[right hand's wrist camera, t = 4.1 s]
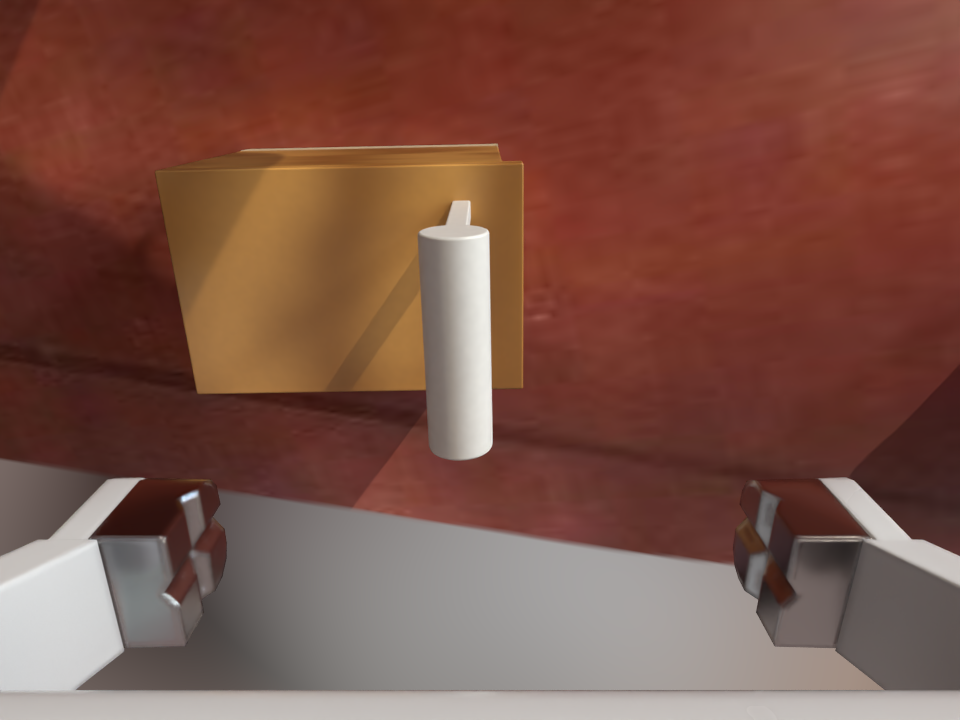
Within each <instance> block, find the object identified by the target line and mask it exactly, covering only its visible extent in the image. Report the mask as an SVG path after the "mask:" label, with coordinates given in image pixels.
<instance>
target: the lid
mask: <svg viewBox="0 0 960 720" xmlns="http://www.w3.org/2000/svg"><path fill="white" fill-rule="evenodd" d="M155 176H156V182H157V187H158V192H159V197H160V202H161V208H162V213H163V218H164V223H165V229H166V234H167V239H168V244H169V250H170V255H171V260H172V265H173V270H174V276H175V281H176V286H177V291H178V297H179V302H180V307H181V312H182V318H183V323H184V328H185V333H186V338H187V344H188V349H189V354H190V359H191V365H192V370H193V375H194V380H195V385H196V391H197V394H231V393H290V392H350V391H409V390H426V400H427V418H428V436H429V447H430V449H431V451H432V452H433V453H434V454H435V455H437V456H439V457H441V458H444V459H449V460H469V459H474V458H477V457H480V456H482V455H484V454H486V453H487V452H488V451H489V450H490V449H491V447H492V443H493V438H492V389H522V388H523V190H524V165H523V163H522V161H497V162H450V163H402V164H355V165H307V166H260V167H213V168H165V169H161V170H156V171H155Z"/></svg>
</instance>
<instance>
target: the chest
mask: <svg viewBox="0 0 960 720" xmlns="http://www.w3.org/2000/svg"><path fill="white" fill-rule="evenodd" d="M497 161H501V157H500V153H499V150H498V144H467V145H420V146H374V147H327V148H280V149H247V150H242V151H240V152H236V153H231V154H227V155H222V156H218V157H214V158H209V159H205V160H200V161H196V162H192V163H187V164H183V165H178V166H174V167H170V168H213V167H260V166H307V165H355V164H402V163H450V162H497Z"/></svg>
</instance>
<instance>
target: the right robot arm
mask: <svg viewBox="0 0 960 720" xmlns="http://www.w3.org/2000/svg"><path fill="white" fill-rule="evenodd" d="M219 506H220V500H219V495H218V490H217V486H216V484H215V483H214V482H213V481H212V480H211V479H168V478H147V479H145V478H114V479H109V480H106V481H105V482H104V483H103V484H102V485H101V486H100V487H99V488H98V490H96V491H95V492H94V494H93V495H92V496H91V497H90V498H89V499H88V500H87V501H86V502H85V503H84V504H83V505H82V506H81V507H80V508H79V509H78V510H77V511H76V512H75V513H74V514H73V515H72V516H71V517H70V518H69V519H68V520H67V521H66V522H65V523H64V524H63V525H62V526H61V527H60V528H59V529H58V530H57V531H56V532H55V533H54V534H53V535H52V536H51V537H50V538H49V539H48V540H35V541H33V542H31V543H29V544H26V545H24V546H22V547H20V548H18V549H15V550H13V551H11V552H9V553H6V554H4V555H2V556H0V720H960V556H958V555H956V554H954V553H951V552H949V551H947V550H945V549H942V548H940V547H938V546H936V545H934V544H931V543H929V542H927V541H925V540H912V539H911V538H910V537H909V536H908V535H907V534H906V533H905V532H904V531H903V530H902V529H901V528H900V527H899V526H898V525H897V524H896V523H895V522H894V521H893V520H892V519H891V518H890V517H889V516H888V515H887V514H886V513H885V512H884V511H883V510H882V509H881V508H880V507H879V506H878V505H877V504H876V502H875V501H874V500H873V499H872V498H871V497H870V496H869V495H868V494H867V493H866V492H865V491H864V490H863V489H862V488H861V487H860V486H859V485H858V484H857V483H856V482H855V481H854V480H851V479H848V478H846V477H842V478H816V479H778V480H748V481H746V483H745V485H744V487H743V489H742V494H741V499H740V506H741V507H742V509H743V510H744V512H745V514H746V515H747V518H746V519H745V520H744V521H743V522H742V523H741V524H740V525H739V526H738V527H737V528H736V529H735V537H734V544H733V552H734V564H735V568H736V572H737V575H738V578H739V580H740V582H741V584H742V586H743V588H744V590H745V591H746V592H747V593H749V594H750V595H752V596H754V597H755V598H757V599H758V605H757V611H756V613H757V615H758V616H759V618H760V620H761V622H762V624H763V626H764V627H765V629H766V631H767V633H768V635H769V637H770V638H771V640H772V642H773V644H774V646H779V647H815V648H836V652H838V653H839V654H840V655H841V656H843V657H844V658H845V659H846V660H848V661H849V662H850V663H852V664H853V665H854V666H855V667H857V668H858V669H859V670H860V671H862V672H863V673H864V674H866V675H867V676H868V677H869V678H871V679H872V680H873V681H874V682H876V683H877V684H878V685H879V686H881V687H882V688H883V689H884V690H76V689H77V688H78V687H79V686H81V685H82V684H83V683H85V682H86V681H87V680H88V679H90V678H91V677H92V676H93V675H95V674H96V673H97V672H98V671H100V670H101V669H102V668H104V667H105V666H106V665H107V664H109V663H110V662H111V661H113V660H114V659H115V658H116V657H118V656H119V655H120V654H121V653H123V652H124V648H144V647H179V646H186V644H187V642H188V640H189V639H190V637H191V635H192V633H193V631H194V629H195V627H196V626H197V624H198V622H199V620H200V618H201V616H202V615H203V613H204V611H203V605H202V599H203V598H205V597H206V596H208V595H210V594H211V593H213V592H214V591H215V590H216V588H217V586H218V584H219V582H220V580H221V578H222V576H223V571H224V567H225V562H226V551H227V550H226V549H227V542H226V536H225V529H224V528H223V527H222V526H221V525H220V524H219V523H218V522H217V521H216V520H215V519H214V518H213V515H214V514H215V512H216V510H217V509H218V507H219Z"/></svg>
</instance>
